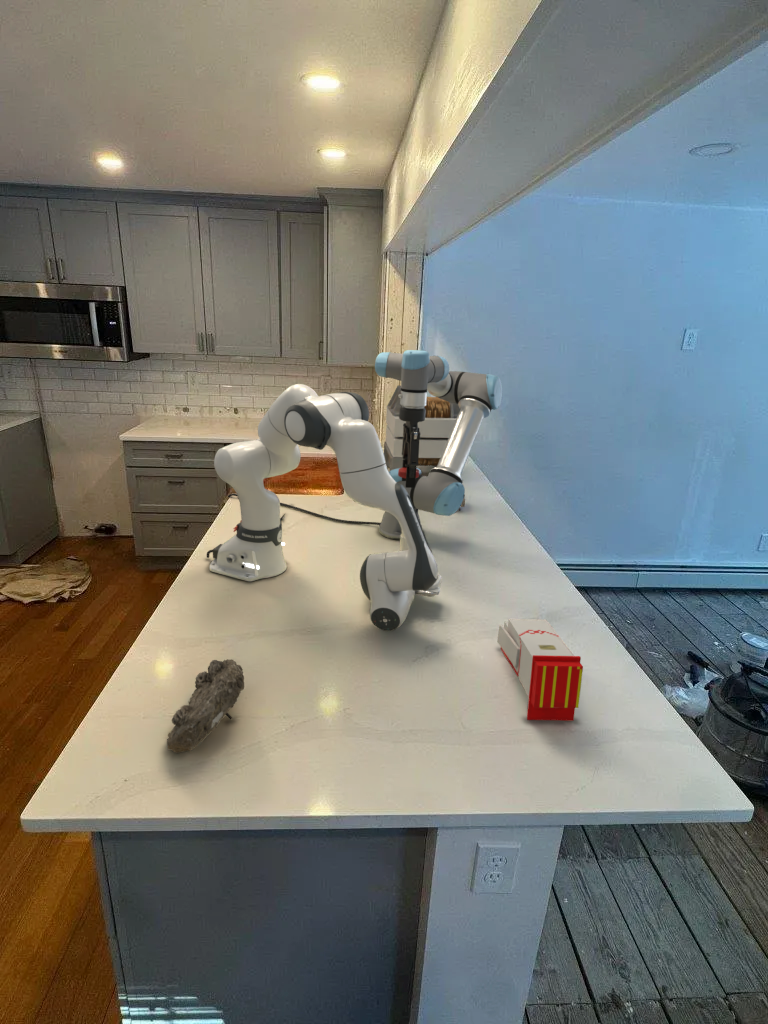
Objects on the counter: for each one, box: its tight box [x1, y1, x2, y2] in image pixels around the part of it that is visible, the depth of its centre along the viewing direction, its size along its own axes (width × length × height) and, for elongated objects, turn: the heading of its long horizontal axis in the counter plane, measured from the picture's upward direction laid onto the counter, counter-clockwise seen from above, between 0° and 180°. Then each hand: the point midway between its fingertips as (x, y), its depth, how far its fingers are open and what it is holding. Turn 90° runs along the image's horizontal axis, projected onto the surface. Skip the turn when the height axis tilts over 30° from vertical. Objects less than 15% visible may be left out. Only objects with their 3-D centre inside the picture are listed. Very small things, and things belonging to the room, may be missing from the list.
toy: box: [497, 618, 584, 722], centre depth 122 cm, size 12×13×30 cm
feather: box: [280, 513, 286, 523], centre depth 210 cm, size 2×28×2 cm
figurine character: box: [458, 494, 466, 511], centre depth 229 cm, size 7×8×15 cm
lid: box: [398, 467, 419, 478], centre depth 169 cm, size 6×6×2 cm
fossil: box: [166, 658, 245, 754], centre depth 106 cm, size 22×10×15 cm
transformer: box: [383, 384, 460, 472], centre depth 268 cm, size 34×33×41 cm
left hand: (408, 568), depth 160 cm, fingers closed on jar, 5 cm apart
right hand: (408, 483), depth 170 cm, fingers closed on lid, 6 cm apart
